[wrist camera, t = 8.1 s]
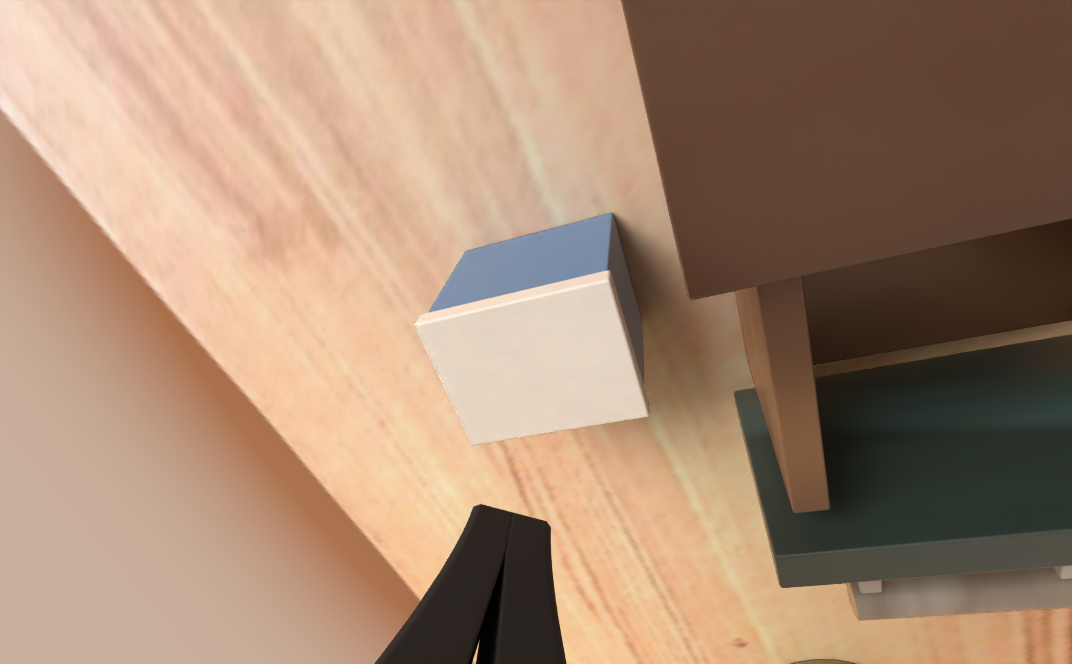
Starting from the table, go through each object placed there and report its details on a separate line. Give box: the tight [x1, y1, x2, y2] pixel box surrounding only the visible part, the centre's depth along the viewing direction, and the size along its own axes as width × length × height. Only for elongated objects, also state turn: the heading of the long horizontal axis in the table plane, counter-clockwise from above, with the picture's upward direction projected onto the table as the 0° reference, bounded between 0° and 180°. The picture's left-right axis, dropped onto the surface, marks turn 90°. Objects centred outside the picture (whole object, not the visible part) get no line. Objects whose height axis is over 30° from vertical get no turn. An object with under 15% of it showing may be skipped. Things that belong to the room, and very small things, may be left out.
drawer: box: [734, 219, 1072, 620], centre depth 14 cm, size 17×10×7 cm, turn 18°
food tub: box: [415, 213, 649, 445], centre depth 17 cm, size 4×5×5 cm
